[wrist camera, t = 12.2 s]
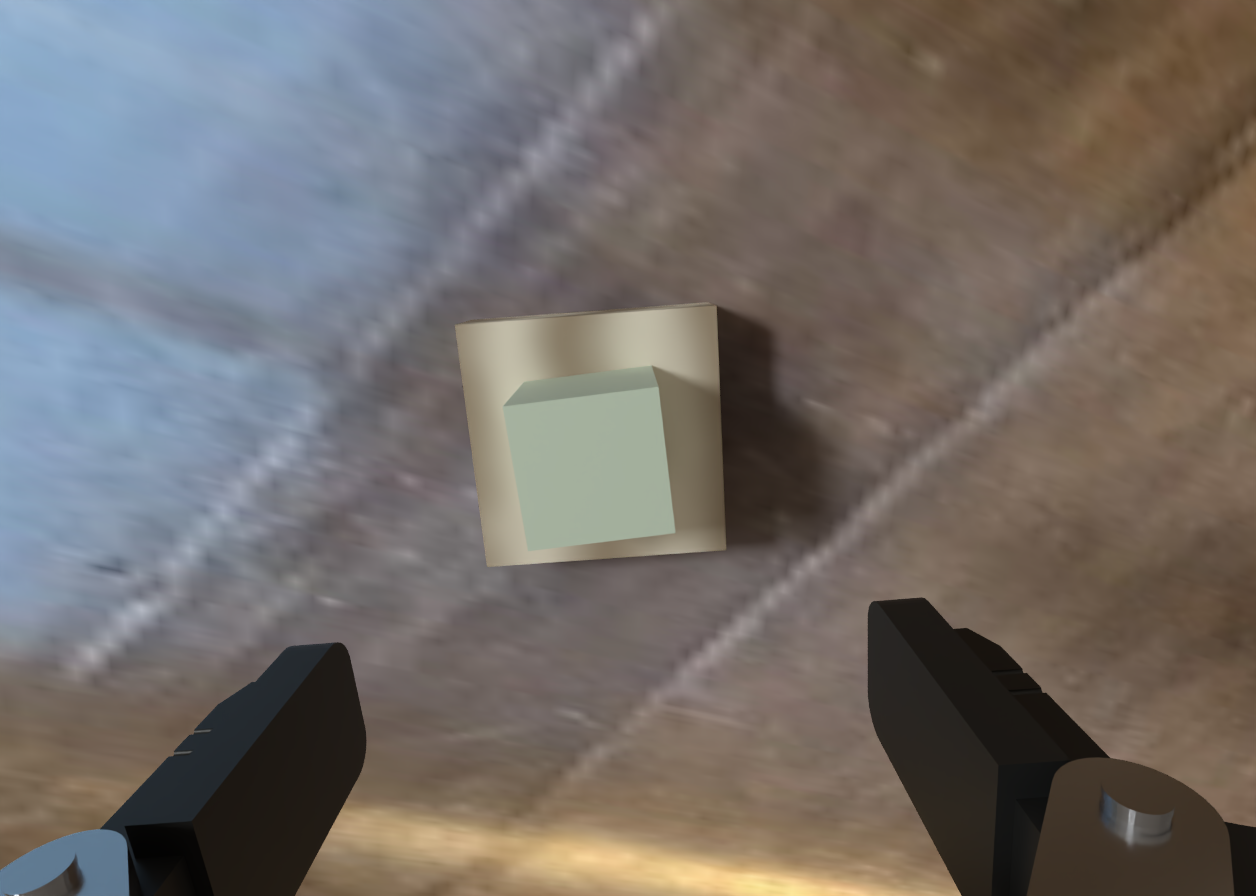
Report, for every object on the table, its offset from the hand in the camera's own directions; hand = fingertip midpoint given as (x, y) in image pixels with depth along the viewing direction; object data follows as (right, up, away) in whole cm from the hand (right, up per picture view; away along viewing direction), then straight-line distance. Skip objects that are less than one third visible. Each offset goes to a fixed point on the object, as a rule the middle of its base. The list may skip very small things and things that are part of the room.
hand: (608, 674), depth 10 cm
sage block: (-1, +4, +22) cm, 23 cm away
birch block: (-1, +5, +26) cm, 27 cm away
